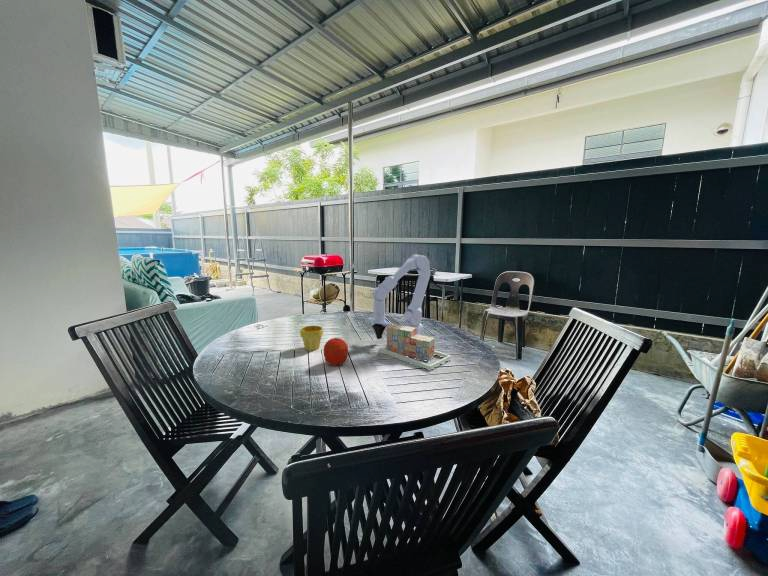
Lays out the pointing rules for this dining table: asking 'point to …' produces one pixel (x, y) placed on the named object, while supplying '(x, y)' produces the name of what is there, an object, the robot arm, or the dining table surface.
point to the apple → (335, 351)
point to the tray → (416, 360)
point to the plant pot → (311, 336)
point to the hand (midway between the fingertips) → (379, 338)
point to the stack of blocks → (409, 342)
